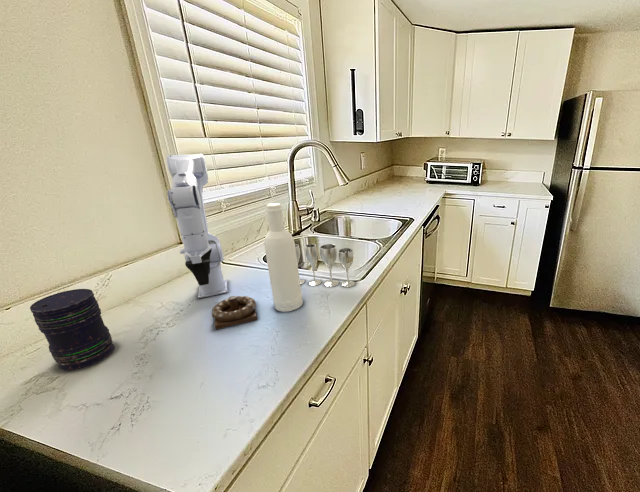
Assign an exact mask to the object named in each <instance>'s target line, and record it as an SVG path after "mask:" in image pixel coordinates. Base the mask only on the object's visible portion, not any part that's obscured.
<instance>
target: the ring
mask: <svg viewBox="0 0 640 492" xmlns="http://www.w3.org/2000/svg"><path fill="white" fill-rule="evenodd" d="M236 298H237V302H238V305H246V306H245V307H243V308H241V309H239V310H236V311H232V312H223V310H224V309H226V308H228V307H230V305H229V300H228V298H226V299H223V300H221V301H219V302H217V303H216V304H215V305H214V306H213V307H212V309H211V316H212V318H214V320H215V319H217V320H219V321H233V320H237V319H241V318H243V317H245V316H247V315H249V314H251V313H252V312H253V310H254V309H255V310H256V308H257V303H256V300H255V299H254V298H252V297H250V296H247V295H245V296H244V295H240V296H239V295H238V296H236Z"/></svg>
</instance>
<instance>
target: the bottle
mask: <svg viewBox="0 0 640 492" xmlns="http://www.w3.org/2000/svg"><path fill="white" fill-rule="evenodd" d="M265 207H266V208H265V211H266V214H267V219H268V225H269V231H268V232H267V233H266V234H265V236H264V237H265V238H264V242H263V246H264V252H265V258H266V265H267V270H268V277H269V282H270V286H271V287H270V288H271V292H272V293H271V294H272V301H273V304H274V308H275V310H277V311H278V312H283V313H284V312H286V313H287V312H292V311H295V310H298V309H300V307H302V305H303V303H304V302H303V293H302V286H301V284H300V280H301V278H300V273H299V263H298V264H297V257H296V250H295V244H296V241H295V238H294V237H293V234H292V233H291V232H290V231H289V230H287V229H286V228H285V223H284V217H283V207H282V204H281V203H279V202H270V203H267V204H266V206H265Z"/></svg>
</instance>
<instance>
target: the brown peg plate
mask: <svg viewBox="0 0 640 492" xmlns="http://www.w3.org/2000/svg"><path fill="white" fill-rule="evenodd" d="M236 297H237V296H236V295H230V296H228V298H227V299H228V300H229V305H230V307H228V308H226V309H224V310H223V312H232V311H236V310H239V309H241V308H243V307H245V306H246V305H238V302H237V298H236ZM254 321H258V317H257V311H256V308H255V309H254V310H253V312H252V313H251V314H249V315H247V316H245V317H243V318H241V319H237V320H233V321H219V320H217V319H215V318H214V329H215V330H217V331H218V330H221V329H224V328H229V327H233V326H237V325H241V324H246V323H249V322H254Z"/></svg>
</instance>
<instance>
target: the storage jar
mask: <svg viewBox="0 0 640 492" xmlns="http://www.w3.org/2000/svg"><path fill="white" fill-rule="evenodd" d="M29 310H30V312H31V313H32V316H33V319H34V322H35V324H36V325H37V327H38V330H39V331H40V332H41V333H42V334H43V335H44V337H45V339H46V341H47V343H48V352H49V353H50V355H51V357H52V359H53V361H55V363H56V364H57V366H58V369H59V370H60V371H62V372H75V371H79V370H83V369H87V368H89V367H92V366H95V365H96V364H98V363H101V362H103V361H105V360H106V359H107V358H108V357H110V356H111V355H113V353H114V352H115V351H116V350H115V349H116V347H115V344H114V343H113V337H112V335H111V332H110V329H109V328H108V326H107V325H105V323H104V320H103V317H102V309H101V308H100V305H99V302H98V300H97V299H96V297H95V294H94V291H93V290H92V289H89V288H77V289H76V288H75V289H70V290H64V291H61V292H57V293H54V294H51V295H47V296H45V297H43V298H40V299H38V300H36V301H34V302H33V303H32V304H31V305H30V306H29Z"/></svg>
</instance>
